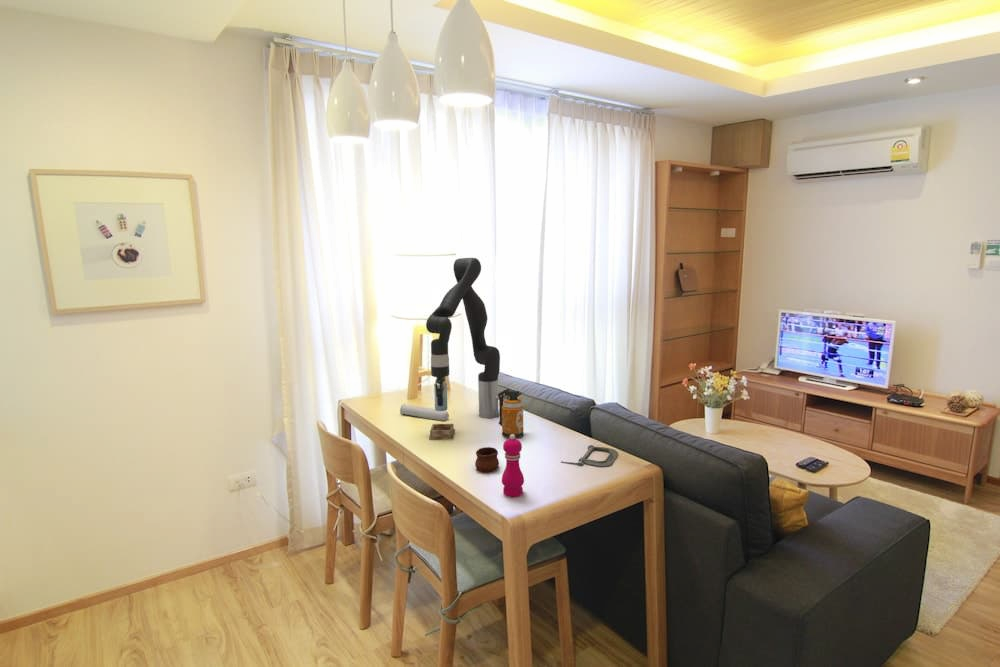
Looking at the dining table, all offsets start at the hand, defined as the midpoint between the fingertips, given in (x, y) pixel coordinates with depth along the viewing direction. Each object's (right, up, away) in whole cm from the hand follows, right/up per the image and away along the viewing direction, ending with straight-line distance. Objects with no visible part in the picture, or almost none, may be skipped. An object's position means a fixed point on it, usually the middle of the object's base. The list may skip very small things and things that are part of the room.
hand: (441, 403), depth 230 cm
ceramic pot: (+20, -20, -32) cm, 43 cm away
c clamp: (+60, -18, -24) cm, 67 cm away
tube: (-10, -10, +27) cm, 31 cm away
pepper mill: (+29, -23, -52) cm, 64 cm away
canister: (+29, -14, +1) cm, 32 cm away
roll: (0, -2, 0) cm, 2 cm away
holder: (0, -14, +2) cm, 14 cm away
